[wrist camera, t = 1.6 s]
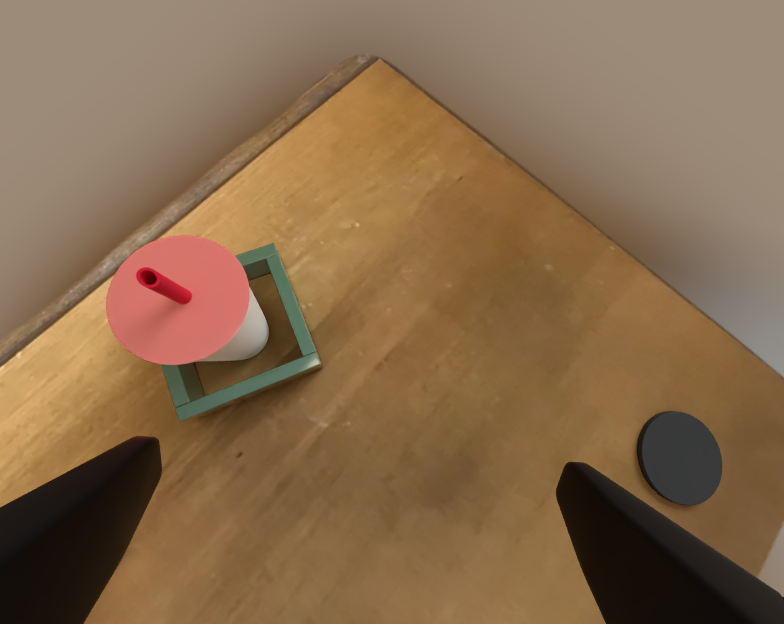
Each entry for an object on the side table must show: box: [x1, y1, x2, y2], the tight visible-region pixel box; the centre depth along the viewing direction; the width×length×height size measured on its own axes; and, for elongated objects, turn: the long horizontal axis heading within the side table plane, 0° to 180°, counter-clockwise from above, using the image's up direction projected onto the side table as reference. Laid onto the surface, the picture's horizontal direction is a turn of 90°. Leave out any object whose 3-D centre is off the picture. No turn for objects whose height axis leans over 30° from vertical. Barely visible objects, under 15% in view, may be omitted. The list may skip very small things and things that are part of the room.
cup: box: [106, 235, 269, 365], centre depth 17 cm, size 5×5×12 cm
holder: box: [161, 243, 323, 422], centre depth 22 cm, size 8×8×2 cm
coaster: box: [638, 411, 722, 505], centre depth 25 cm, size 6×6×1 cm
